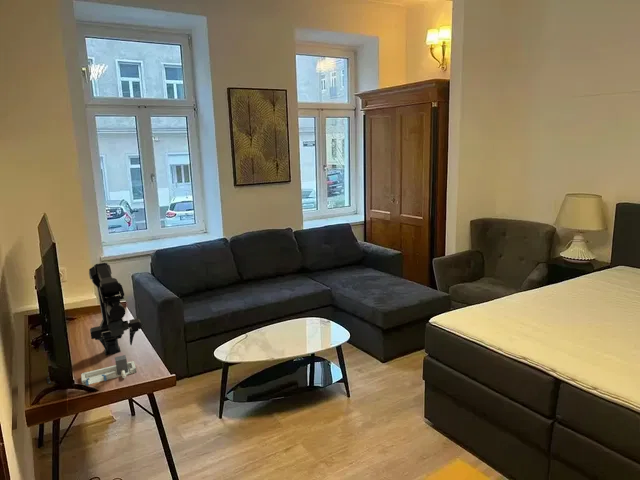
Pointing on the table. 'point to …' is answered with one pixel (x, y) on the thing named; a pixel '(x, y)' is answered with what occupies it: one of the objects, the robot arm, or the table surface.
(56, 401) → the table surface
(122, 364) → the cord plug
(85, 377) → the long open trough
